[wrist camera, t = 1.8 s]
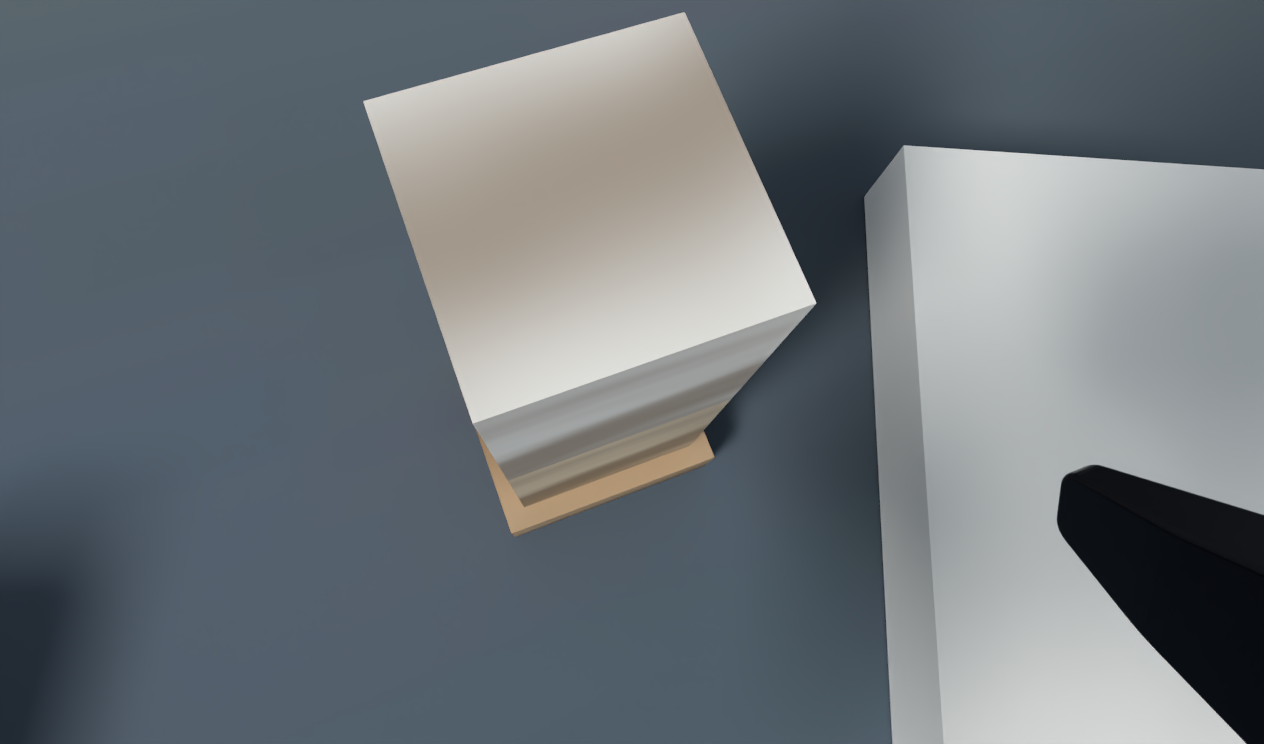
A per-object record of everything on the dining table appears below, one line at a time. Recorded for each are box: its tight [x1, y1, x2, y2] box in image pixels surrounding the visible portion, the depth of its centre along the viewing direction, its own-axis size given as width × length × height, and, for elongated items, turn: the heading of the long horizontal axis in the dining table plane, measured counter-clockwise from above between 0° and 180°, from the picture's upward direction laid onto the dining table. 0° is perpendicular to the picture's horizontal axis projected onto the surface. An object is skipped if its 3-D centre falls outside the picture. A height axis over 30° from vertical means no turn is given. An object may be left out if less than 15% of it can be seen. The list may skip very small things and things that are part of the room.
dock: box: [864, 145, 1264, 744], centre depth 21 cm, size 18×11×3 cm, turn 178°
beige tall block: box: [363, 12, 816, 537], centre depth 16 cm, size 6×6×12 cm
